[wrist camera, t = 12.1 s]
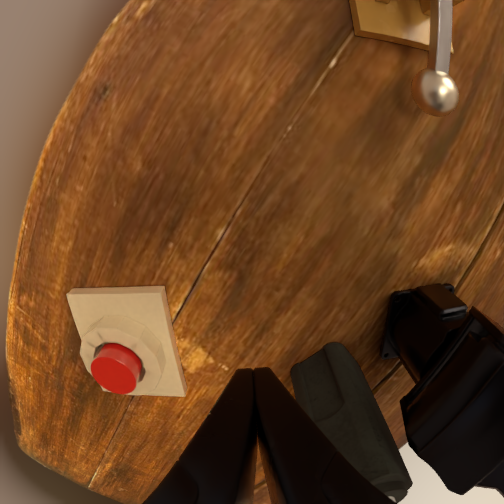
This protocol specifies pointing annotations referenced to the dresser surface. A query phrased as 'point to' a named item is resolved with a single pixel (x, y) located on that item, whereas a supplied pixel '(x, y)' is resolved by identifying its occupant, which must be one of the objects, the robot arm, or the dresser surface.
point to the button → (116, 368)
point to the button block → (131, 333)
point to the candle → (350, 417)
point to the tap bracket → (394, 21)
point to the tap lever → (437, 65)
